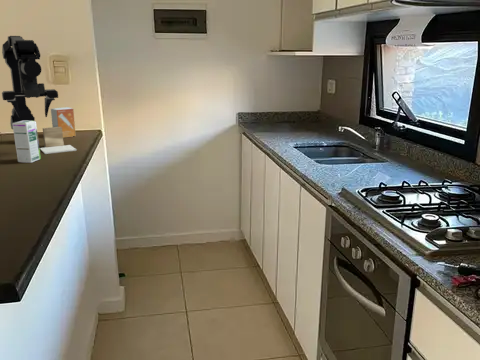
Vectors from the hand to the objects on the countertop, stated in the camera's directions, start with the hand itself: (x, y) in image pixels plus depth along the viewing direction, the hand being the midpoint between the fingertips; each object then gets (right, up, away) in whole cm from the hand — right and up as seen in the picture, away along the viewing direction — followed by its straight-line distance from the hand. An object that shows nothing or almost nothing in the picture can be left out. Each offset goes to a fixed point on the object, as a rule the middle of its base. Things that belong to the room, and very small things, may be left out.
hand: (33, 117), depth 174 cm
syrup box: (+1, -17, -5) cm, 18 cm away
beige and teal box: (+1, -10, +18) cm, 20 cm away
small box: (-3, -4, +39) cm, 40 cm away
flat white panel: (+5, -11, +12) cm, 17 cm away
